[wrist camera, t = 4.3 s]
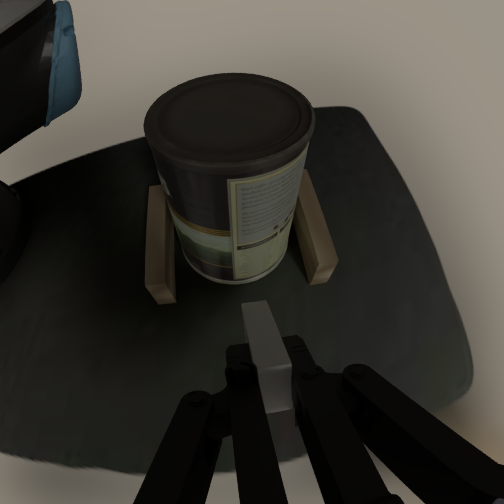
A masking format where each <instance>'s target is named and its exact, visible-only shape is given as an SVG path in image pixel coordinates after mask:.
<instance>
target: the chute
mask: <svg viewBox="0 0 504 504" xmlns="http://www.w3.org/2000/svg"><path fill="white" fill-rule="evenodd" d="M292 221H293V225H294V228H295V232H296V235H297V239H298V243H299V247H300V250H301V254H302V258H303V262H304V266H305V270H306V273H307V277H308V281H309V285H315V284H321V283H327V281H328V279H329V277H330V275H331V274H332V272H333V270H334V268H335V266H336V265H337V263H338V258H337V255H336V252H335V249H334V246H333V243H332V240H331V237H330V234H329V231H328V228H327V225H326V222H325V219H324V216H323V213H322V210H321V208H320V205H319V202H318V199H317V196H316V194H315V191H314V188H313V185H312V183H311V180H310V177H309V175H308V172H307V170H306V169H303V173H302V177H301V182H300V187H299V191H298V196H297V201H296V206H295V210H294V214H293V219H292ZM145 287H146V288H147V289H148V291H149V292H150V294H151V295H152V296H153V298H154V299H155V300H156V302H157V303H158V304H169V303H176V285H175V257H174V221H173V218H172V215H171V212H170V209H169V206H168V203H167V200H166V197H165V194H164V191H163V188H162V185H155V186H150V187H149V199H148V212H147V229H146V253H145Z"/></svg>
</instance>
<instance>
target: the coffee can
mask: <svg viewBox="0 0 504 504" xmlns="http://www.w3.org/2000/svg"><path fill="white" fill-rule="evenodd" d="M314 126H315V113H314V110H313V107H312V106H311V103H310V102H309V101H308V100H307V98H306V97H305V96H304V95H302V94H301V93H300V92H299V91H297V90H296V89H295V88H293V87H291V86H289V85H287V84H286V83H283V82H281V81H278V80H275V79H272V78H269V77H265V76H261V75H256V74H247V73H222V74H214V75H208V76H203V77H199V78H195V79H192V80H189V81H187V82H184V83H182V84H180V85H177V86H176V87H174V88H172V89H170V90H169V91H167V92H166V93H164V94H163V95H161V96H160V97H159V98H158V99H157V100H156V101H155V102H154V103H153V104H152V105H151V107H150V108H149V110H148V112H147V114H146V117H145V120H144V132H145V136H146V139H147V142H148V144H149V146H150V148H151V151H152V154H153V157H154V161H155V164H156V167H157V171H158V174H159V178H160V181H161V184H162V188H163V191H164V194H165V197H166V200H167V203H168V206H169V209H170V212H171V215H172V218H173V221H174V224H175V227H176V230H177V234H178V237H179V240H180V243H181V247H182V251H183V254H184V256H185V258H186V260H187V262H188V263H189V264H190V266H191V267H192V268H193V269H194V270H195V271H196V272H197V273H199V274H200V275H202V276H203V277H205V278H207V279H209V280H212V281H215V282H218V283H223V284H244V283H249V282H252V281H255V280H258V279H260V278H262V277H264V276H265V275H267V274H268V273H270V272H271V271H272V270H273V269H275V268H276V267H277V266H278V264H279V263H280V261H281V260H282V258H283V257H284V254H285V252H286V250H287V245H288V237H289V232H290V228H291V223H292V219H293V214H294V210H295V206H296V201H297V196H298V191H299V187H300V182H301V177H302V173H303V168H304V163H305V159H306V154H307V149H308V144H309V140H310V139H311V136H312V134H313V130H314Z"/></svg>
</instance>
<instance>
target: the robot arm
mask: <svg viewBox="0 0 504 504" xmlns="http://www.w3.org/2000/svg"><path fill="white" fill-rule="evenodd" d="M81 92H82V83H81V72H80V63H79V57H78V49H77V42H76V36H75V33H74V25H73V15H72V10H71V6H70V3H69V2H68V1H66V0H65V1H57V2H56V3H54V4H53V1H52V0H0V154H1V153H2V152H4V151H5V150H7V149H8V148H9V147H11V146H12V145H14V144H15V143H17V142H18V141H20V140H21V139H23V138H24V137H26V136H27V135H29V134H31V133H32V132H34V131H35V130H37V129H39V128H40V127H42V126H44V127H46V126H48V125H49V124H50V122H51V121H52V120H54V119H56V118H57V117H59V116H60V115H62V114H64V113H66V112H67V111H69V110H71V109H72V108H73V107H74V106H75V105H76V104H77V103H78V101H79V99H80V97H81ZM30 225H31V212H30V208H29V206H28V204H27V203H26V201H25V200H24V199H23V197H22V196H21V195H20V193H19V192H18V191H16V190H15V189H13V188H11V187H10V186H8V185H7V184H5V183H4V182H2V181H1V180H0V284H1V283H2V281H3V280H4V279H5V278H6V277H7V276H8V274H9V273H10V272H11V270H12V269H13V267H14V266H15V264H16V263H17V261H18V259H19V257H20V255H21V253H22V251H23V249H24V247H25V244H26V241H27V238H28V235H29V231H30ZM241 306H242V314H243V322H244V331H245V339H246V343H245V344H238V345H230V346H229V347H228V348H227V350H226V362H227V367H226V369H225V375H226V381H227V386H226V388H225V389H224V390H222V391H221V392H219V393H216V394H213V395H210V394H209V393H207V392H205V391H192V392H189V393H187V394H186V395H184V396H183V398H182V399H181V401H180V403H179V405H178V407H177V410H176V412H175V414H174V416H173V418H172V420H171V423H170V425H169V427H168V429H167V431H166V433H165V436H164V438H163V440H162V442H161V444H160V446H159V448H158V451H157V453H156V455H155V457H154V459H153V461H152V464H151V466H150V468H149V470H148V472H147V474H146V477H145V479H144V481H143V483H142V485H141V488H140V490H139V492H138V494H137V496H136V499H135V501H134V503H133V504H205V502H206V498H207V495H208V491H209V488H210V484H211V480H212V477H213V473H214V470H215V466H216V462H217V459H218V455H219V451H220V447H221V444H222V438H224V437H227V436H230V435H232V438H233V448H234V457H235V466H236V474H237V483H238V491H239V499H240V504H288V501H287V497H286V493H285V489H284V486H283V481H282V478H281V473H280V470H279V465H278V461H277V457H276V453H275V449H274V445H273V441H272V437H271V432H270V428H269V424H268V420H267V416H266V413H272V412H278V411H284V410H289V409H293V404H294V407H295V427H298V426H299V429H300V432H301V435H302V438H303V441H304V444H305V447H306V450H307V453H308V456H309V459H310V462H311V465H312V468H313V470H314V474H315V476H316V479H317V482H318V485H319V488H320V491H321V494H322V497H323V500H324V503H325V504H404V502H403V501H402V499H401V498H400V497H399V496H398V495H396V494H391V493H390V492H389V491H388V490H387V488H386V486H385V484H384V482H383V480H382V478H381V476H380V474H379V472H378V470H377V469H376V467H375V465H374V463H373V461H372V459H371V457H370V455H369V453H368V452H367V450H366V448H365V446H364V444H365V445H366V446H367V447H368V448H369V449H370V450H371V451H372V452H373V453H374V454H375V455H376V456H377V457H378V458H379V459H380V460H381V461H382V462H383V463H384V464H385V465H386V466H387V467H388V468H389V469H390V470H391V471H392V472H393V473H394V474H395V475H396V476H397V477H398V478H399V479H400V480H401V481H402V482H403V483H404V484H405V485H406V486H407V487H408V488H409V489H410V490H411V491H412V492H413V493H414V494H415V495H416V496H418V497H419V498H420V499H421V500H422V501H423V502H424V503H425V504H504V465H501V464H498V463H497V462H495V461H494V460H493V459H491V458H490V457H488V456H487V455H486V454H484V453H483V452H482V451H480V450H479V449H477V448H476V447H475V446H473V445H472V444H471V443H469V442H468V441H466V440H465V439H464V438H462V437H461V436H460V435H458V434H457V433H456V432H454V431H453V430H452V429H450V428H449V427H448V426H446V425H445V424H444V423H442V422H441V421H440V420H438V419H437V418H436V417H434V416H433V415H432V414H430V413H429V412H428V411H426V410H425V409H424V408H422V407H421V406H420V405H418V404H417V403H416V402H414V401H413V400H412V399H410V398H409V397H408V396H406V395H405V394H404V393H403V392H401V391H400V390H399V389H397V388H396V387H395V386H393V385H392V384H391V383H389V382H388V381H387V380H386V379H384V378H383V377H382V376H380V375H379V374H378V373H377V372H375V371H374V370H373V369H371V368H370V367H368V366H367V365H364V364H352V365H349V366H347V367H346V368H345V369H344V370H343V373H327V372H325V371H324V370H323V369H322V368H321V367H320V366H317V365H316V364H315V362H314V360H313V358H312V356H311V354H310V352H309V350H308V348H307V347H306V345H305V343H304V341H303V339H302V338H300V337H299V336H297V335H294V336H288V337H282V338H281V336H280V333H279V331H278V328H277V326H276V323H275V321H274V318H273V316H272V314H271V311H270V309H269V306H268V304H267V301H266V300H264V301H257V302H249V303H242V304H241ZM363 443H364V444H363Z"/></svg>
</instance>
